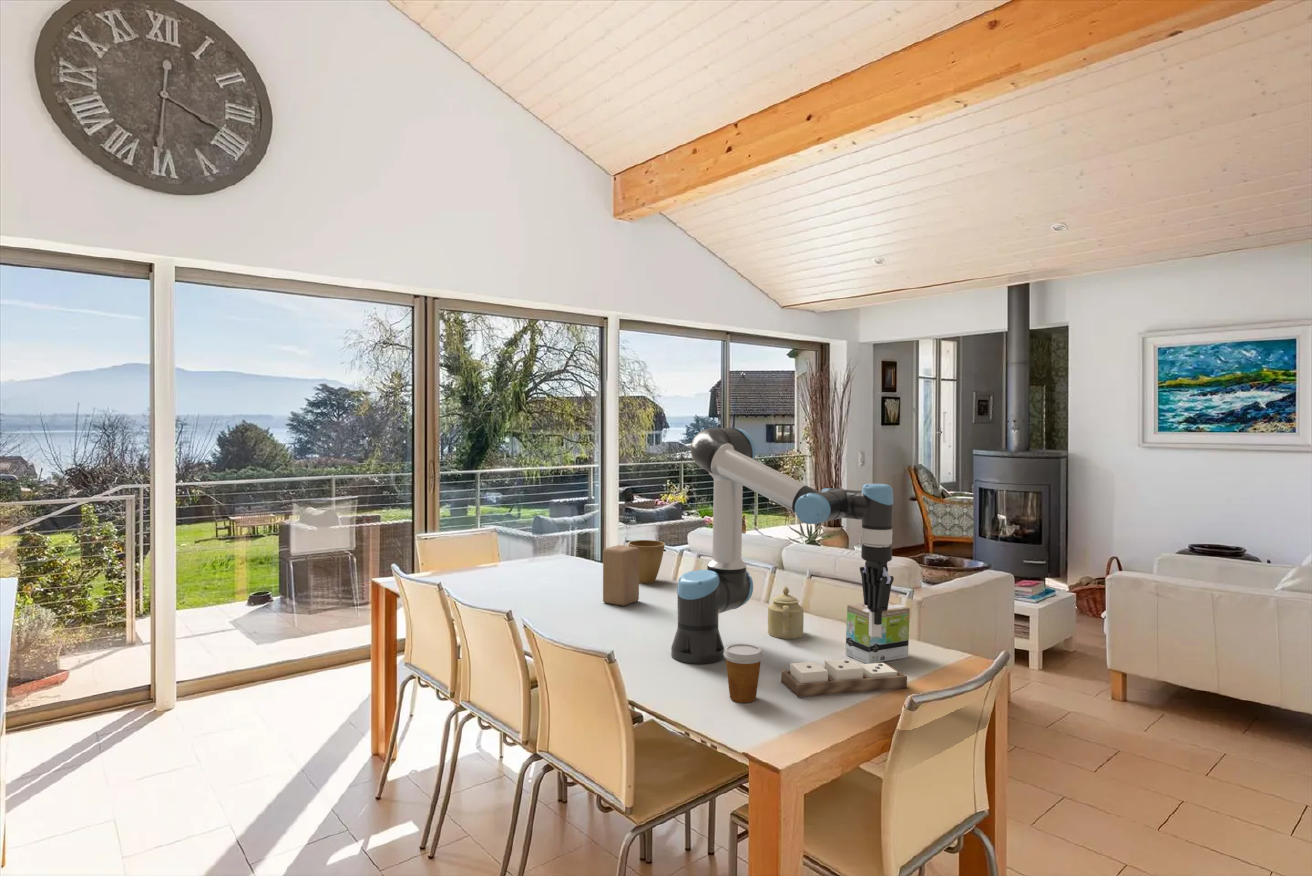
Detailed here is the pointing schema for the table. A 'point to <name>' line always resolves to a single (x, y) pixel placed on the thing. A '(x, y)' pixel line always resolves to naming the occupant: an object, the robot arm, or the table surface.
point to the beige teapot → (785, 617)
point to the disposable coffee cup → (743, 671)
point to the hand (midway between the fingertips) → (874, 635)
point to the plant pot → (648, 559)
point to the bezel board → (843, 684)
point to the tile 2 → (843, 669)
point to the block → (620, 575)
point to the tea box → (877, 648)
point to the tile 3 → (878, 670)
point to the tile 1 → (808, 672)
